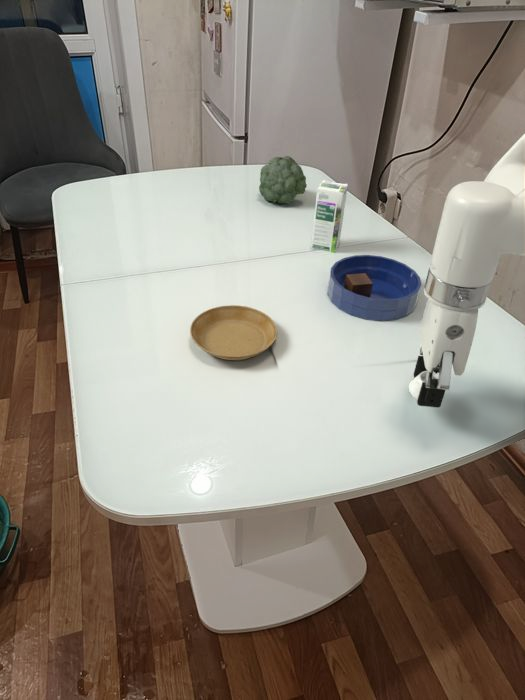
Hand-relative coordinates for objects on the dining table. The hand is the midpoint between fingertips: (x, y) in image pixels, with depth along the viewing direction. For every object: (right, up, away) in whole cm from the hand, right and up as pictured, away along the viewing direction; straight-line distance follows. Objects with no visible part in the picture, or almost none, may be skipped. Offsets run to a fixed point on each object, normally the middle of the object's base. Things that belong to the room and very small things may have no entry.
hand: (426, 390), depth 75 cm
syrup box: (-10, +29, +43) cm, 53 cm away
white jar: (0, 0, 0) cm, 1 cm away
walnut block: (-6, +16, +25) cm, 30 cm away
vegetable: (-19, +47, +64) cm, 81 cm away
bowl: (-3, +16, +26) cm, 31 cm away
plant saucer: (-29, +7, +13) cm, 33 cm away
